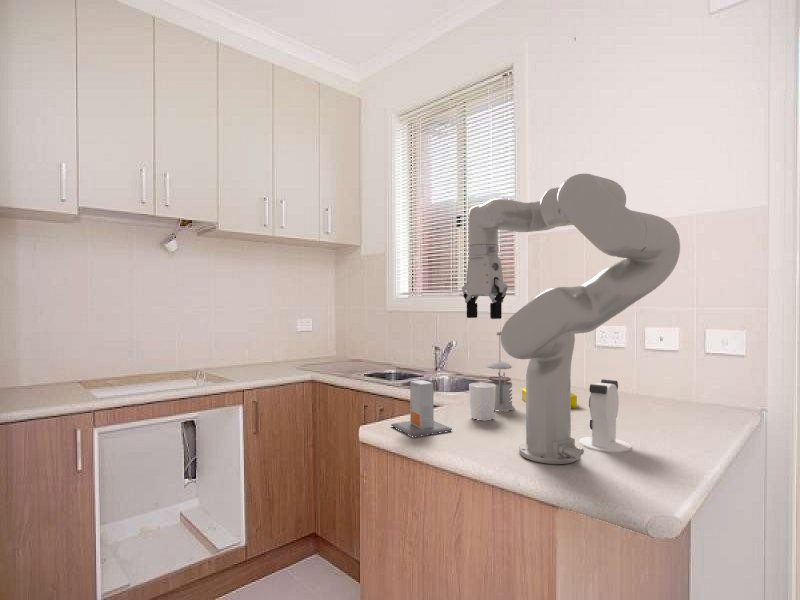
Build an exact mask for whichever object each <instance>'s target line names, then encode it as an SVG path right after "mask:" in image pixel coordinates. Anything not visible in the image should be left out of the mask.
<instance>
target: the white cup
mask: <svg viewBox="0 0 800 600" xmlns="http://www.w3.org/2000/svg"><path fill="white" fill-rule="evenodd" d="M468 391H469V392H468V393H469V408H470V418H471V417H472V418H474V419H479V420H491V419H493V420H494V418H495V411H494V410H495V394H496V385H495V384H492V383H488V382H472V383H471V382H470V383H469V384H468ZM472 418H471V419H472ZM474 419H473V420H474ZM491 421H492V420H491Z"/></svg>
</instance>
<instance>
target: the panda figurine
mask: <svg viewBox="0 0 800 600" xmlns="http://www.w3.org/2000/svg"><path fill="white" fill-rule="evenodd" d="M618 388H619V382H618V380H611V379H605V378H603V379H601V381H600V382H595V383H594V384H593V383H591V384H589V393H590V394H589V395H590V396H589V399H588V407H589V414H590V418H591V419H590V420H589V429H590V430H591V434H592V435H591V436H586V437H581V438H579V440H578V441H579V444H580V446H582V447H584V448H587V449H588V450H589V449H590V450H593V451H597V452H602V453H603V452H604V453H615V454H617V453H627V452H628V451H630V450H631V449H632V446H631V444H630V443H628V442H627V441H624V440H621V439H617V436H616V434H617V417H618V413H619V403H620V402H619V401H620V400H619V392H618Z"/></svg>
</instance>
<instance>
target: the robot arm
mask: <svg viewBox="0 0 800 600" xmlns="http://www.w3.org/2000/svg"><path fill="white" fill-rule="evenodd" d="M626 205H627V195H626V191H625V189H624V188H623V186H621V185H620V184H619V183H618V182H617V181H614V180H613V179H610V178H607V177H602V176H599V175H594V174H590V173H579V174H574V175H572V176H570V177H569V178H567V179H565V181H563V183H562V184H561V185H560V186H558V187H553V188H549V189H548V190H546V191H545V192H544V194H543V195H542V196H541V199H540V200H538V201H533V202H522V201H518V200H513V199H506V198H500V197H498V198H493V199H490V200H488V201H487V202H485V203H483V204H478V205H477V204H476V205H474V206H472V207H471V208H470V209H469V210H468V262H467V268H466V269H467V271H466V283H465V284H464V285H463V286H462V287H461V291H462V294H463V298H464V300H465V304H466V318H467V319H469V318H470V319H474V318H475V319H477V318H478V303H477V300H478V298H479V297H488V298H489V299H490V301H491V303H490V305H489V309H490V310H489V317H490V319H492V320H501V319H503V318H502V308H503V307H502V304H503V303H504V299H505V298H506V295H507V294H506V293H507V290H508V288H509V286H508V284H507V283H505V282H504V277H503V276H504V275H503V268H502V267H503V265H502V262H501V258H500V257H499V230H500V231H507V232H515V233H531V232H541V231H549V230H552V229H554V228H557V227H565V226H566V227H567V226H574V227H575V229H577V230H578V231H579V232H580V233H581V234H582V235H583V236H584V237H585V238H586V239H587V240H588V241H589V242H590V243H591V244H592V245H593V246H594V247H595V248H596V249H597V250H599V251H600V252H602V253H603V254H605V255H608V256H610V257H615V258H622V259H621V260H620V261H618V262H615V263H613V264H611V265H609V266H607V267H606V268H604V269H603V270H602V271H600V272H599V273H598V274H597V275H595V276H594V277H592V278H591V279H590V280H588V281H586V282H585V283H583V284H581V285H579V286H578V285H577V286H557V287H552V288H549V289H546V290H544V291H543V292H541V293H539V294H538V295H537V296H535V297H534V298H532V300H530V301H529V302H528V303H526V304H525V305H524V306H522V307H521V308H520V309H519V310H518V311H516V312H515V313H514V314H513V315H512V316H511V317H509V318H508V319H507V320H506V322H505V323H504V325H503V327H502V329H501V331H500V332H501V335H500V345H501V347H502V349H503V350H504V351H505V352H506V354H508V355H509V356H511V357H512V358H513V359H517V360H529V361H528V366H527V368H526V374H525V375H526V376H525V388H526V402H525V404H526V405H525V410H526V411H525V413H526V414H525V417H526V418H525V419H526V421H525V422H526V423H525V425H526V426H525V427H526V428H525V430H526V432H525V434H526V436H525V437H526V438H525V439H526V440H525V442H524V443H523V444H521V445H520V446H519V449H518V451H519V455H521V457H524V458H525V459H528V460H529V461H532V462H537V463H542V464H548V465H565V464H571V463H575V462H576V461H579V460H580V459H581V458H582V456H583V455H584V453H585V449H584V448H582V447H579V446H576V444H575V443H576V442H575V440H576V439H575V438H574V437H572V435H571V434H572V433H571V431H572V429H571V427H572V426H571V422H572V421H571V416H572V415H571V412H572V411H571V409H572V408H571V400H570V393H571V387H572V386H571V384H572V383H571V380H572V379H571V377H572V376H571V375H572V374H571V373H572V359H573V353H574V350H575V349H574V348H575V341H576V340H575V339H576V337H575V335H576V334H577V335H578V334H584V333H585V334H586V333H590V332H592V331H594V330H596V329H598V328H599V327H601V326H602V325H603V324H605V323H606V322H609V320H611V319H613V318H614V317H616V316H617V315H619V314H621V313H622V312H624V311H625V310H626V309H627V308H629V307H631V306H632V305H634V304H635V303H636V302H638V301H640V300H641V299H643V298H644V297H646V296H647V295H649V294H650V293H652V292H653V291H654V290H656V289H657V288H658V287H659V286H661V285H662V284H664V283H665V281H666V280H667V279H668V278H669V277H670V275H671V274H673V273H672V272H673V271H674V270H675V268H676V266H677V263H678V261H679V257H680V253H681V241H680V235H679V233H678V231H677V229H676V227H675V226H674V225H673V224H672V223H671V222H670V221H669V220H667V219H665V218H663V217H661V216H659V215H655V214H650V213H648V212H647V213H646V212H641V211H636V210H632V209H629V208H628V207H627V206H626Z"/></svg>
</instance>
